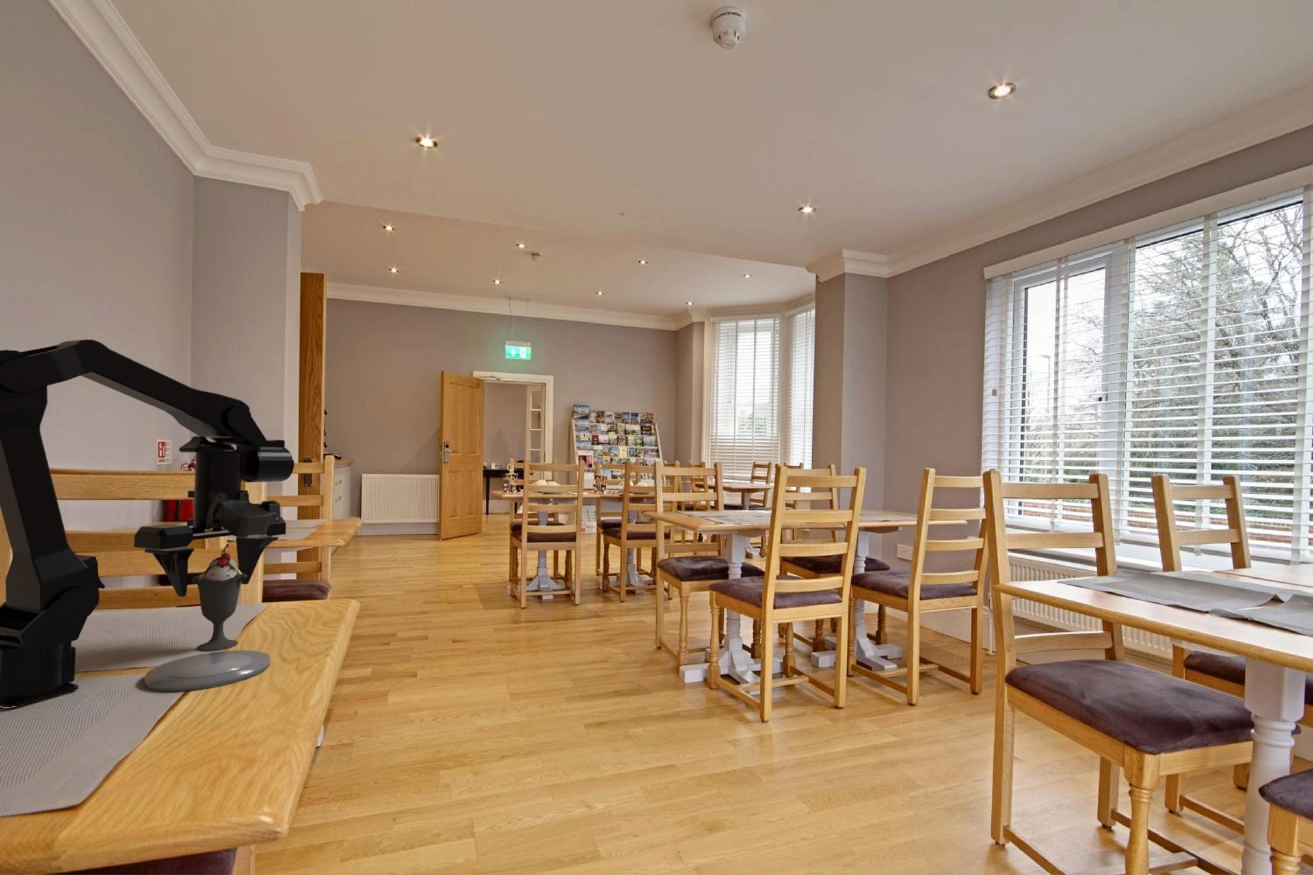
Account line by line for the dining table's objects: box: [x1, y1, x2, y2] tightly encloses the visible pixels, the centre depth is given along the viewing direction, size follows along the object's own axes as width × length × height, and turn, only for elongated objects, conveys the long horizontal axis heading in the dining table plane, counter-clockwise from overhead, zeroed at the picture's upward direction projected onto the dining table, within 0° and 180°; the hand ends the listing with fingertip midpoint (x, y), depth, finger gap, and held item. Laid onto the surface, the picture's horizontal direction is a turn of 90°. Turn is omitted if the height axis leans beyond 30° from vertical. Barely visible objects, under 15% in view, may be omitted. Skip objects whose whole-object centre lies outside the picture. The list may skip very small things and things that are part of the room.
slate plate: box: [144, 649, 271, 692], centre depth 80 cm, size 13×13×1 cm
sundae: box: [191, 543, 247, 652], centre depth 91 cm, size 7×7×15 cm
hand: (214, 589), depth 91 cm, fingers open, 9 cm apart
